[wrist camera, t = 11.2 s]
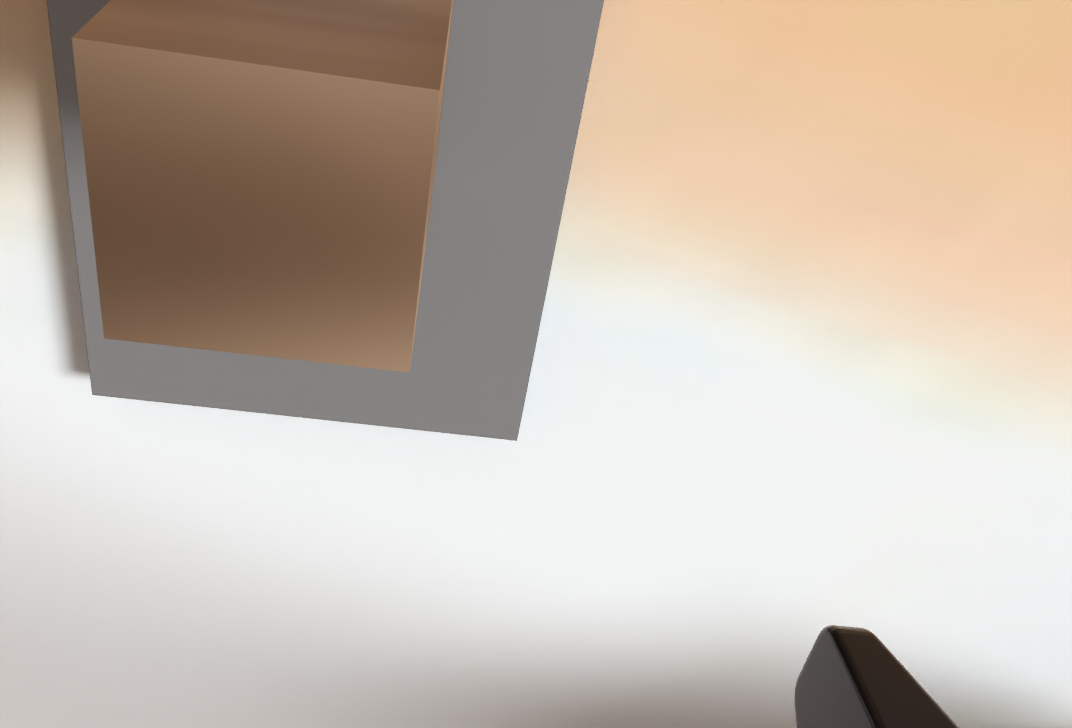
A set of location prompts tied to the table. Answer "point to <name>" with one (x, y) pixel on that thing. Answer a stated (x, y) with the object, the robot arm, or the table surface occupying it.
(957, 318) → the table surface
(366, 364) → the brown grey l-shaped block
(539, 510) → the table surface
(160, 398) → the mat
